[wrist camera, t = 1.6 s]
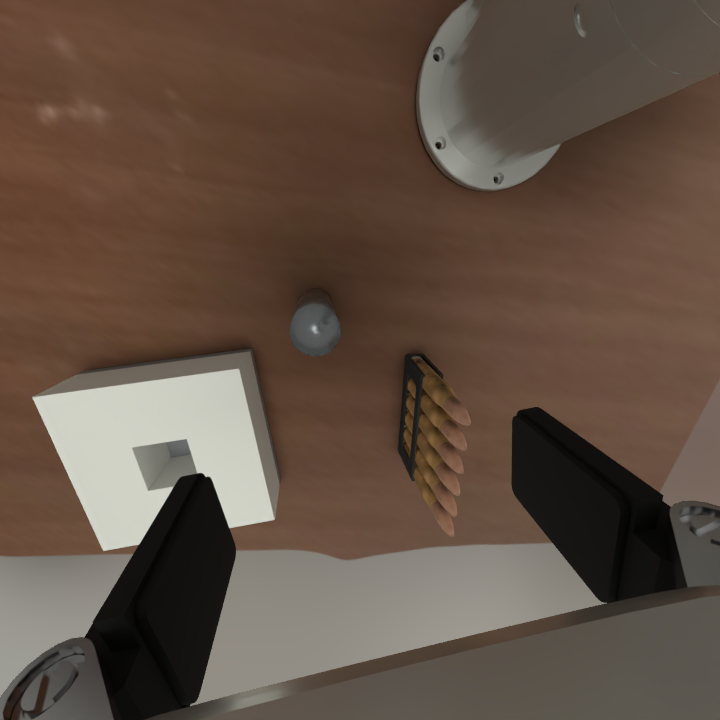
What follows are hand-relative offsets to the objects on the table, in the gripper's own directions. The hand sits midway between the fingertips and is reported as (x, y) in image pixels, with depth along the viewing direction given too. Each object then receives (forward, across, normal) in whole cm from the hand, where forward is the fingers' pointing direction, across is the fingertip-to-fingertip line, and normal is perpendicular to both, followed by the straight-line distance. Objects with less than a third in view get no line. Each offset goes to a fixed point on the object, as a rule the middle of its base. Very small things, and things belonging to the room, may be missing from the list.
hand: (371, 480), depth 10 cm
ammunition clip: (+21, -6, +9) cm, 24 cm away
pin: (+21, +1, -2) cm, 21 cm away
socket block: (+21, +15, +7) cm, 26 cm away
